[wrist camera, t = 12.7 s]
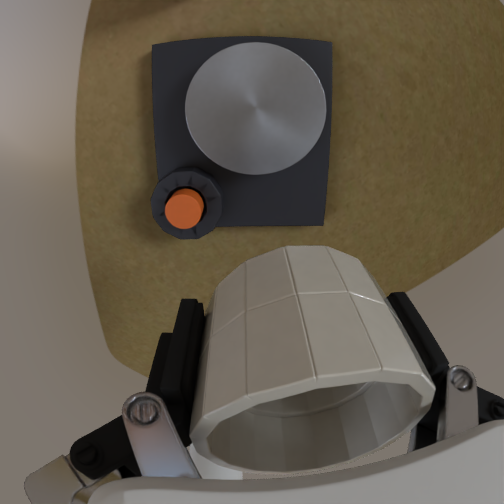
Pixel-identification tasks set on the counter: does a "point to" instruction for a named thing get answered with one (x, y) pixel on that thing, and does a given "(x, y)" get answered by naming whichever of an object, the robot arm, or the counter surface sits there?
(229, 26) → the counter surface
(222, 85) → the brushed metal disc
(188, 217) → the tare button
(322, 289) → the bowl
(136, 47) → the counter surface
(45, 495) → the robot arm
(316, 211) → the scale
